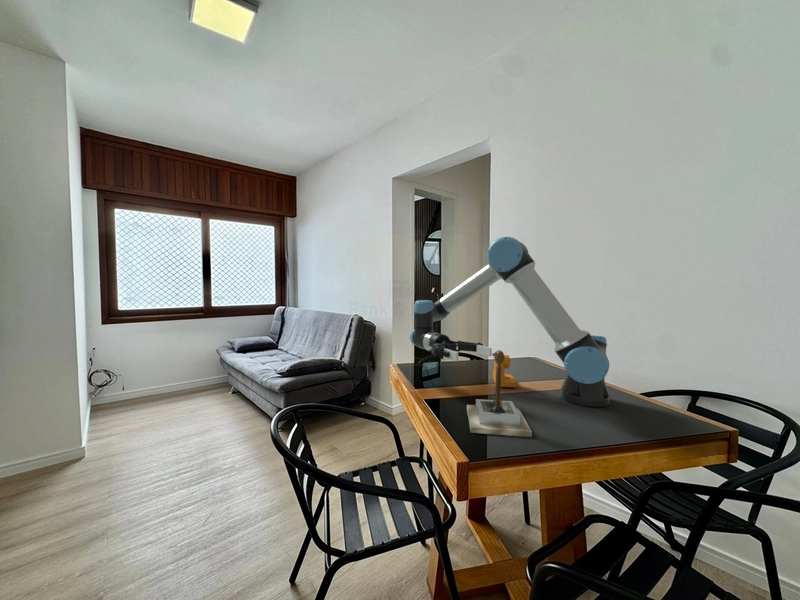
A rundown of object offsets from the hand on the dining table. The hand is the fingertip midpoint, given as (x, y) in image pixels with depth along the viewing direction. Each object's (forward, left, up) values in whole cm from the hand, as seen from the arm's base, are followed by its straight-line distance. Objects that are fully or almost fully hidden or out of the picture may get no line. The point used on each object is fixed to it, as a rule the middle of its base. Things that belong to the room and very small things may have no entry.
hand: (474, 354), depth 103 cm
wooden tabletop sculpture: (-6, +8, -17) cm, 19 cm away
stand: (-6, +8, -18) cm, 21 cm away
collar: (-6, +8, -17) cm, 19 cm away
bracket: (-15, -28, -18) cm, 37 cm away
